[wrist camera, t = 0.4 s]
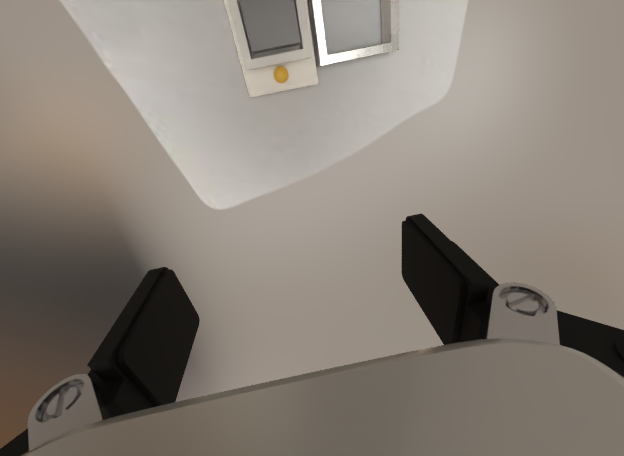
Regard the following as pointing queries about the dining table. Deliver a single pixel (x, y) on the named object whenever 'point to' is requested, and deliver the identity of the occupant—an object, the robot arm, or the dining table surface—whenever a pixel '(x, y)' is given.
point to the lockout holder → (389, 43)
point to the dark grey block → (270, 24)
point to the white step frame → (274, 55)
